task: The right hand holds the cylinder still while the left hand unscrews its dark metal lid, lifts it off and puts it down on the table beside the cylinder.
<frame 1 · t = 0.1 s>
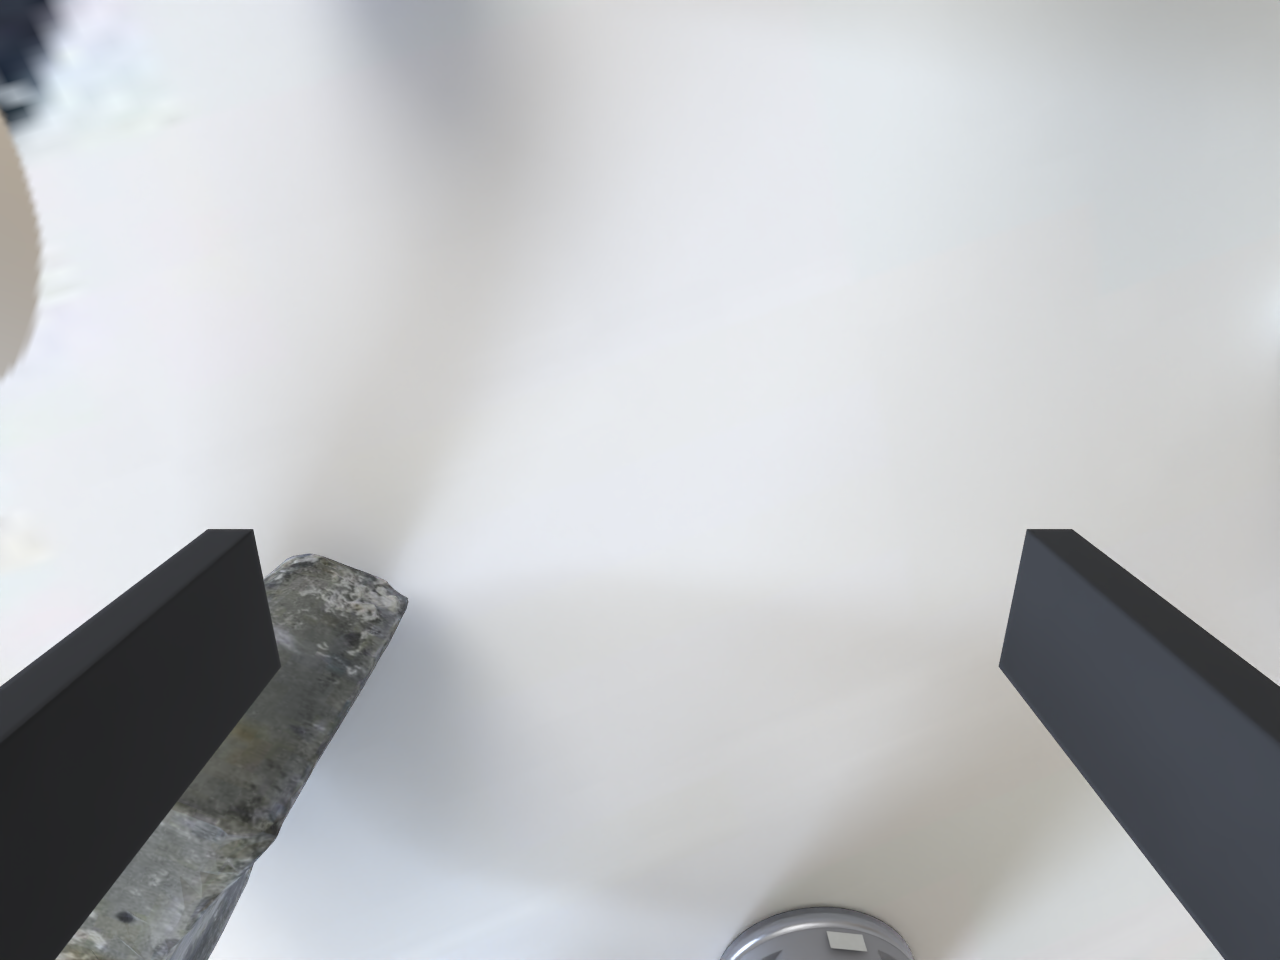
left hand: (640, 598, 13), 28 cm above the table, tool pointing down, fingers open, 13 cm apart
concrete block: (286, 695, 47), on the table
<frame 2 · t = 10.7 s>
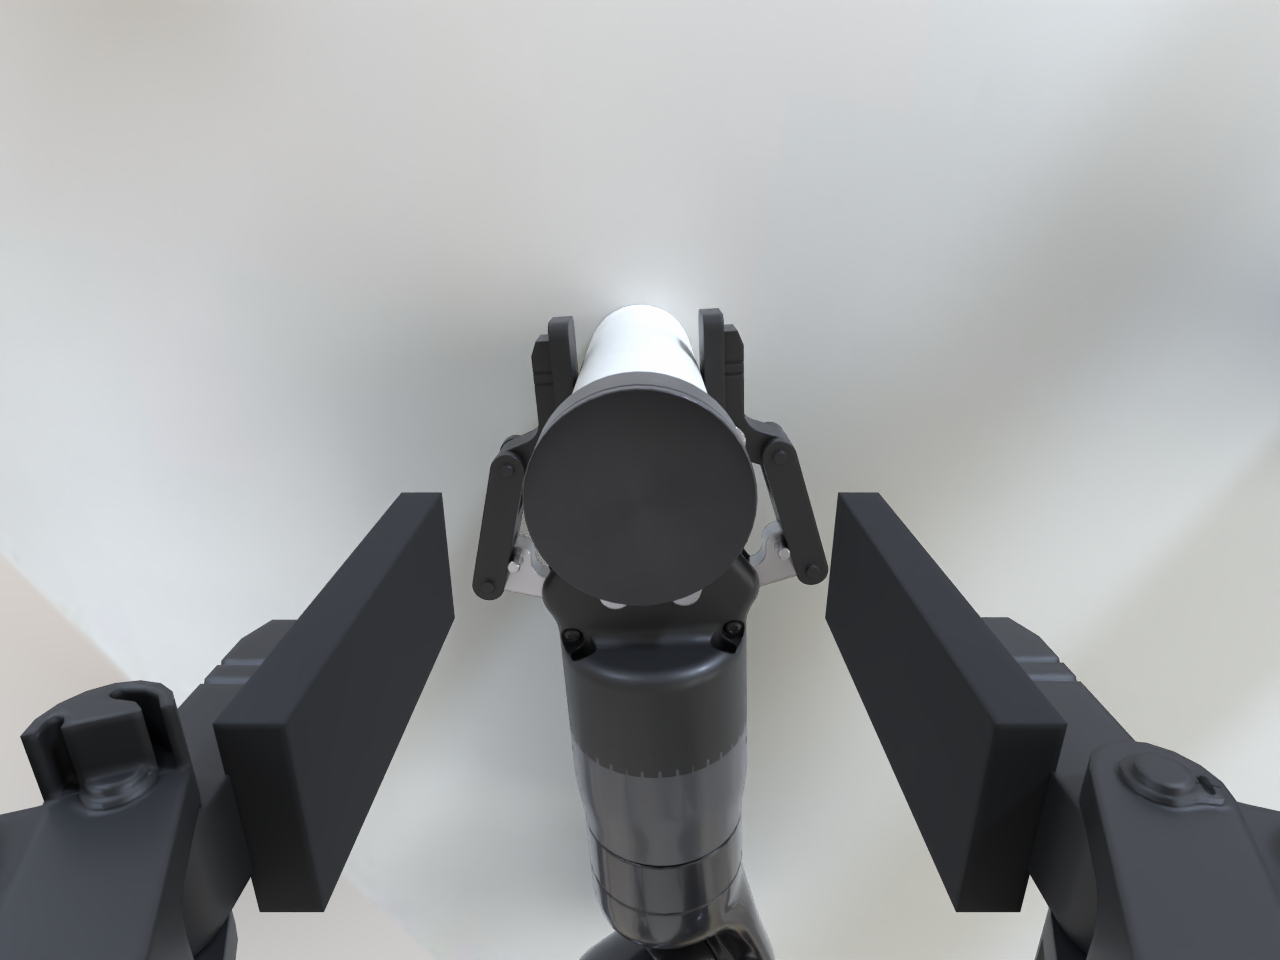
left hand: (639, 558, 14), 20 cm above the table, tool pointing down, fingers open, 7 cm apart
right hand: (634, 318, 25), fingers closed on cylinder, 4 cm apart
cylinder: (639, 356, 33), on the table, touching right hand
lid: (639, 497, 17), point 17 cm above the table, screwed on, not yet turned
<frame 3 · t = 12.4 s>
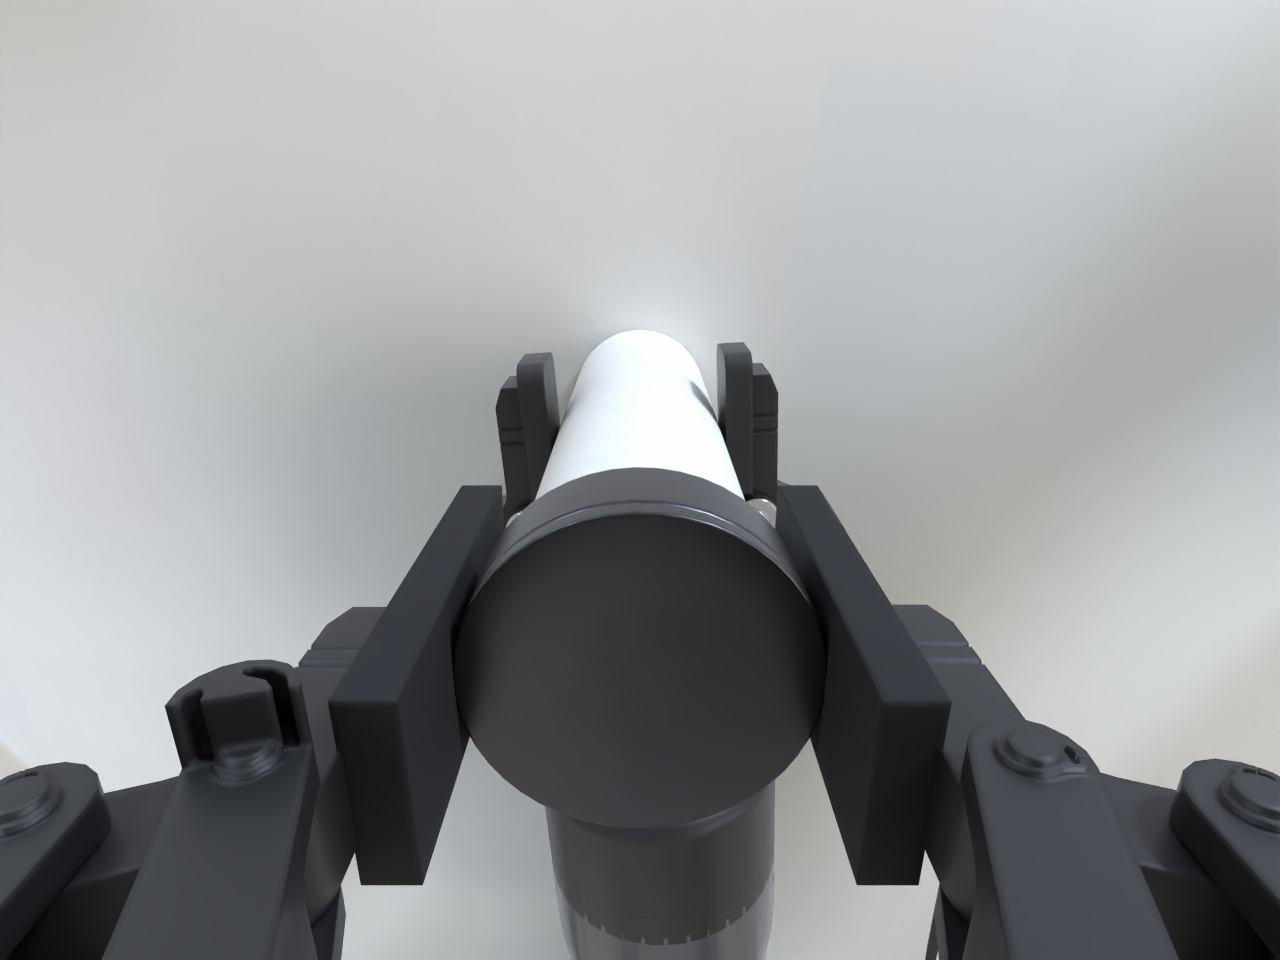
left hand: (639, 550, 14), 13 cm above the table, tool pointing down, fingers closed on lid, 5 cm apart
cylinder: (639, 393, 26), on the table, touching right hand
lid: (640, 670, 11), point 17 cm above the table, screwed on, not yet turned, touching left hand
when the left hand's fingers open (13 cm above the table, at t = 13.8 s): lid stays where it is, point 17 cm above the table.
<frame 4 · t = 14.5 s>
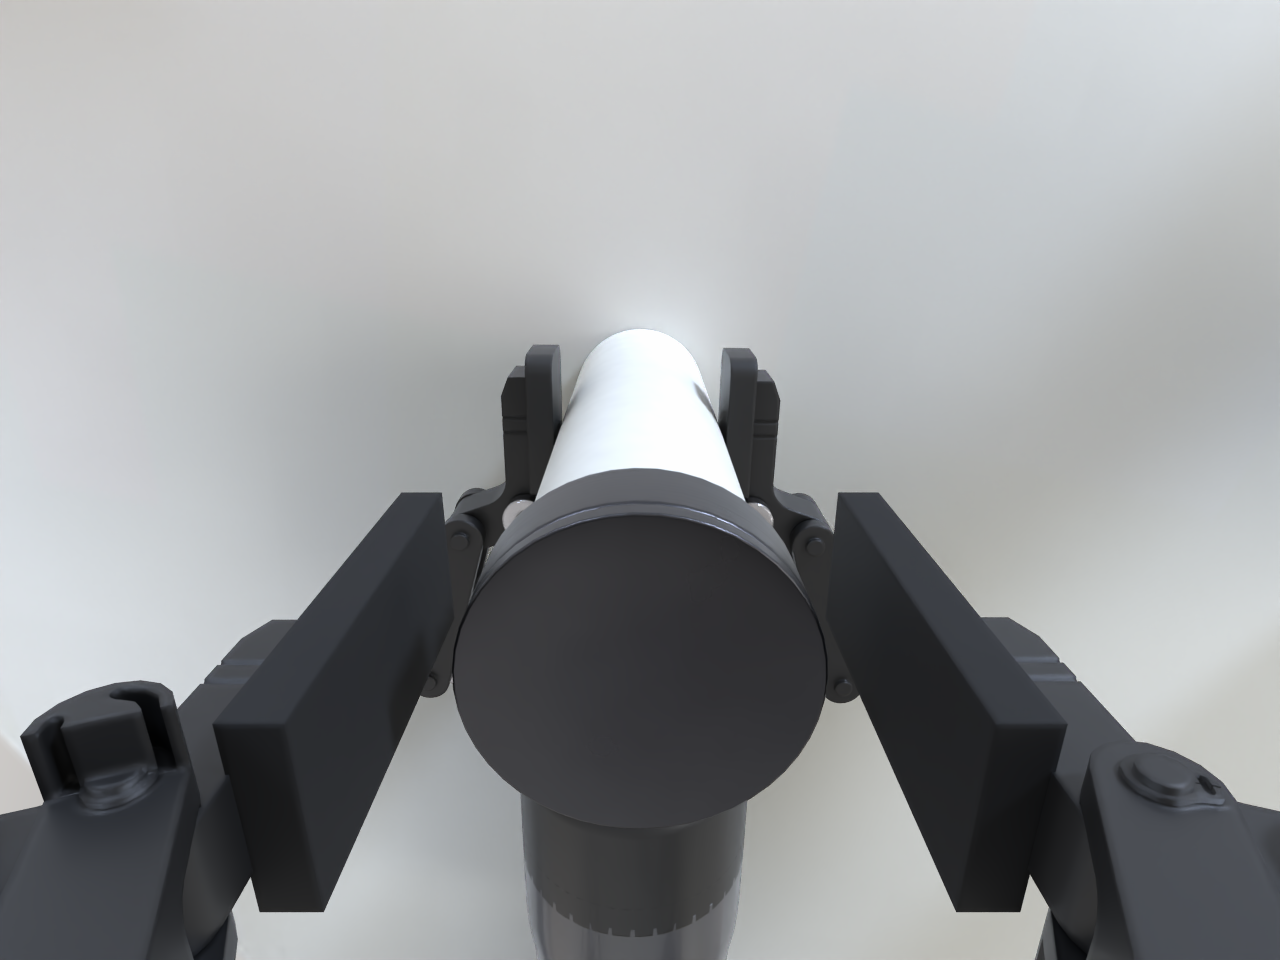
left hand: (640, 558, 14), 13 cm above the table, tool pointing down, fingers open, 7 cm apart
cylinder: (639, 391, 27), on the table, touching right hand
lid: (640, 671, 11), point 17 cm above the table, turned 87° so far, risen 0.3 cm, still on its thread
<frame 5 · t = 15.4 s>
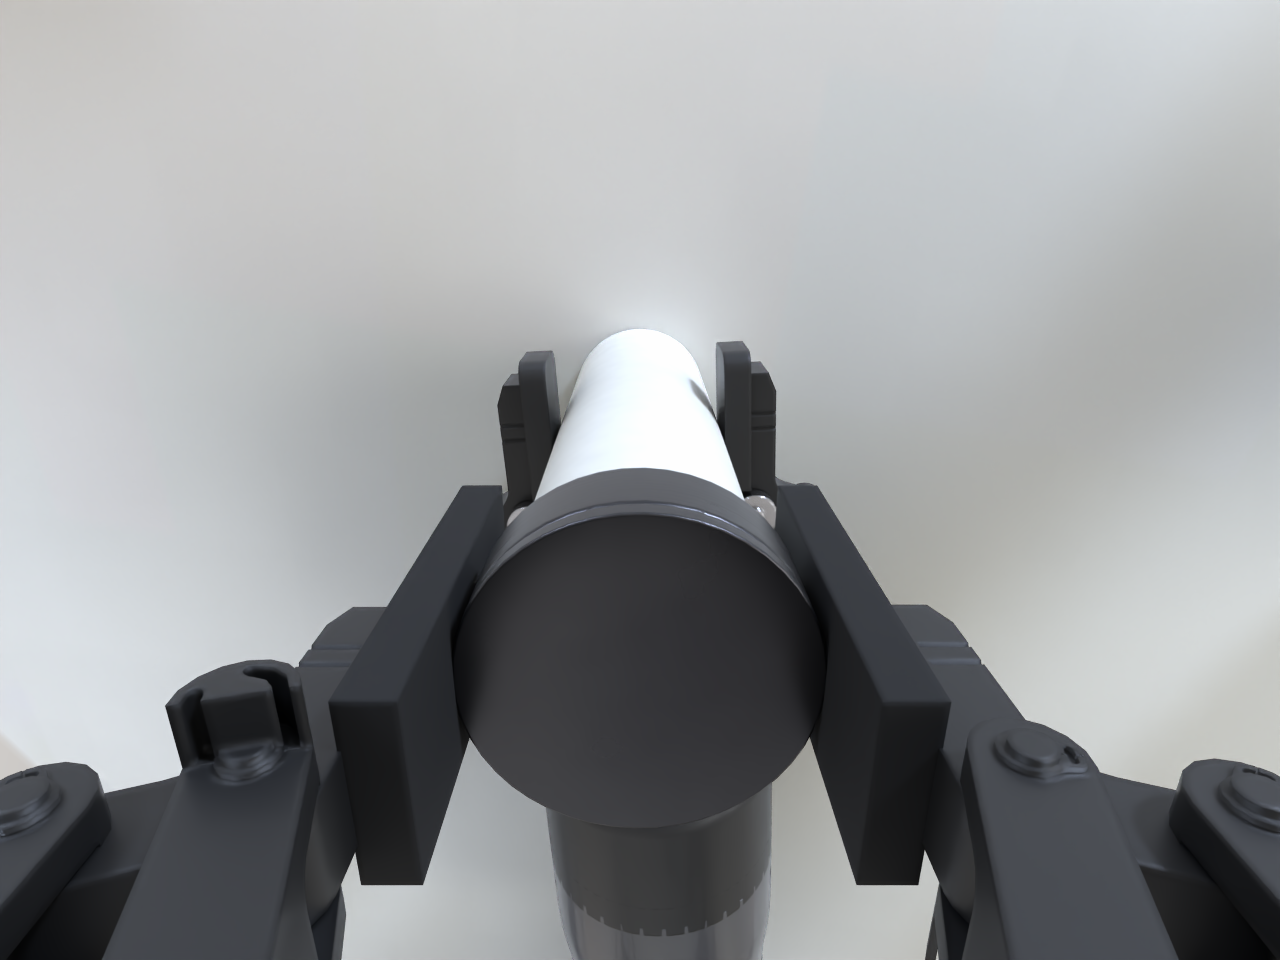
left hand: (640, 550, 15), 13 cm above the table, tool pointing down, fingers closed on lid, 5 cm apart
cylinder: (639, 391, 27), on the table, touching right hand
lid: (639, 670, 11), point 17 cm above the table, turned 87° so far, risen 0.3 cm, still on its thread, touching left hand
when the left hand's fingers open (0 cm above the table, at t = 21.6 s): lid drops 2 cm, point 1 cm above the table.
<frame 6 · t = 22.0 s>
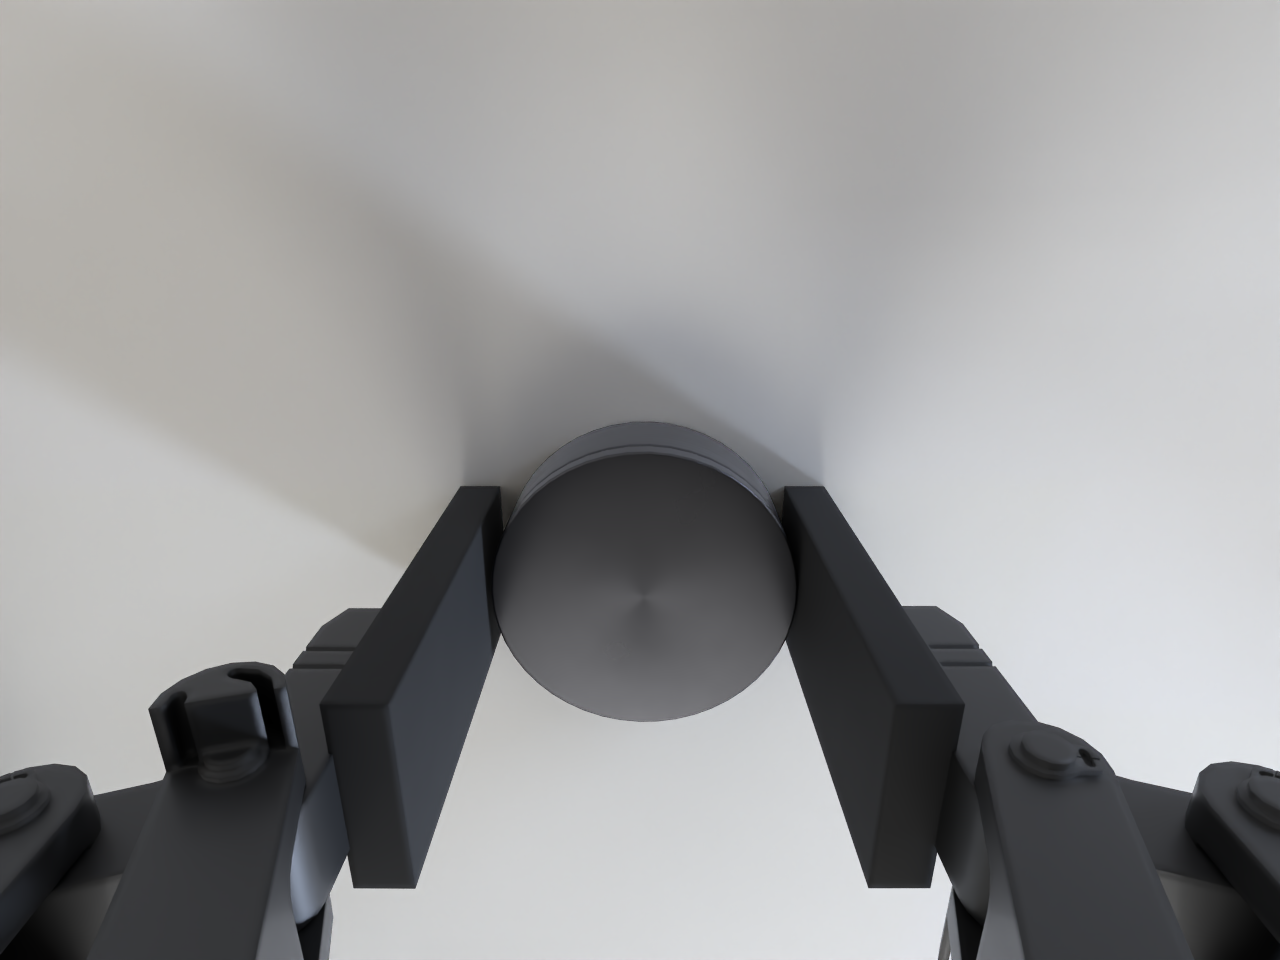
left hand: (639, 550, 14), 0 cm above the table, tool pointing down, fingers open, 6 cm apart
lid: (644, 587, 13), point 1 cm above the table, off its thread
when the right hand's fingers open (7 cm above the table, at t = 22.7 s): cylinder stays where it is, on the table.
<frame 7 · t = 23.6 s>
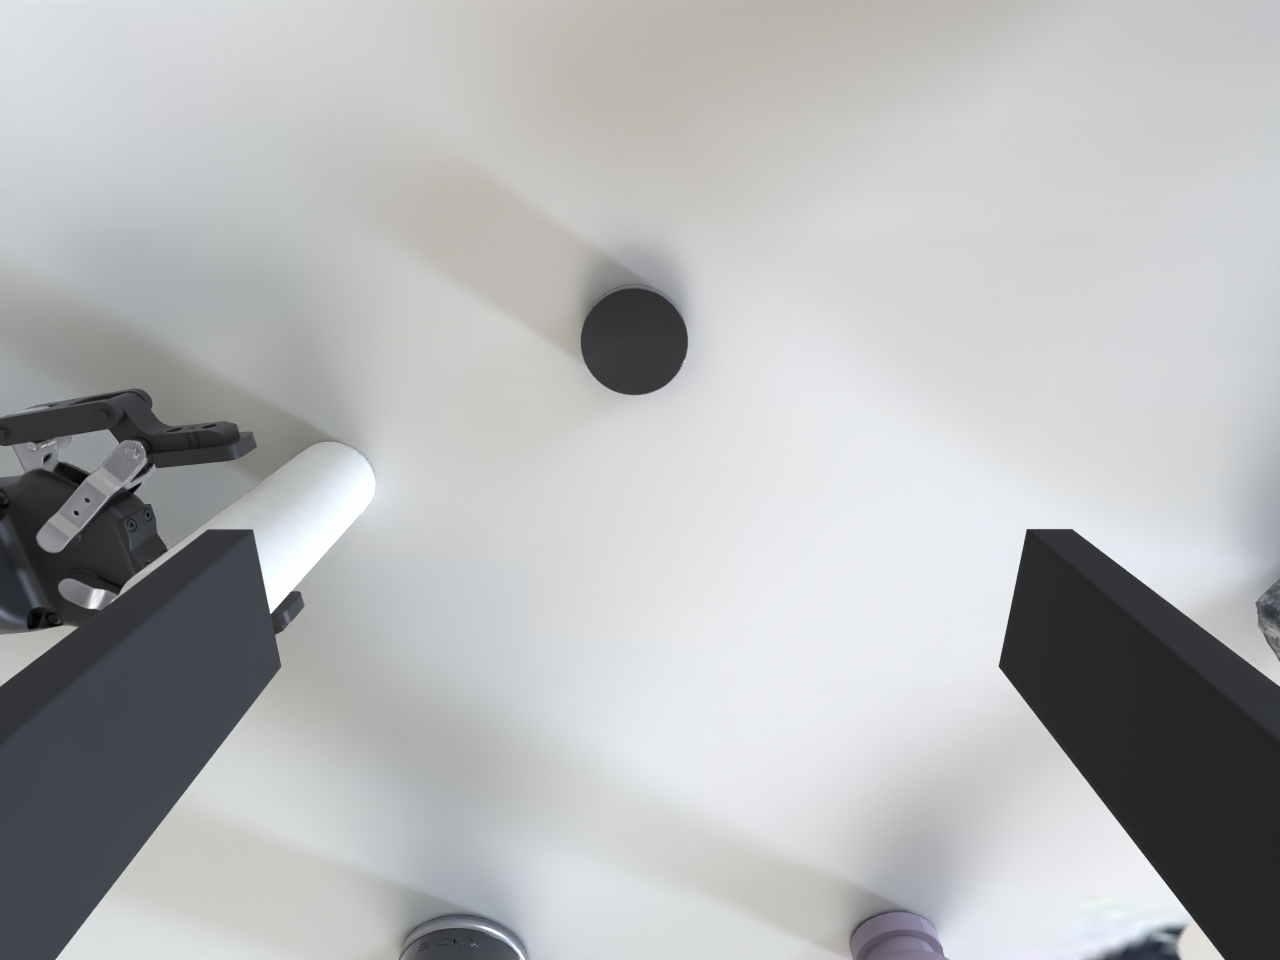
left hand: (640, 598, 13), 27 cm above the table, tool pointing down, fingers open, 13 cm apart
cylinder: (335, 479, 41), on the table
lid: (634, 341, 37), point 1 cm above the table, off its thread
cat figurine: (892, 941, 54), on the table
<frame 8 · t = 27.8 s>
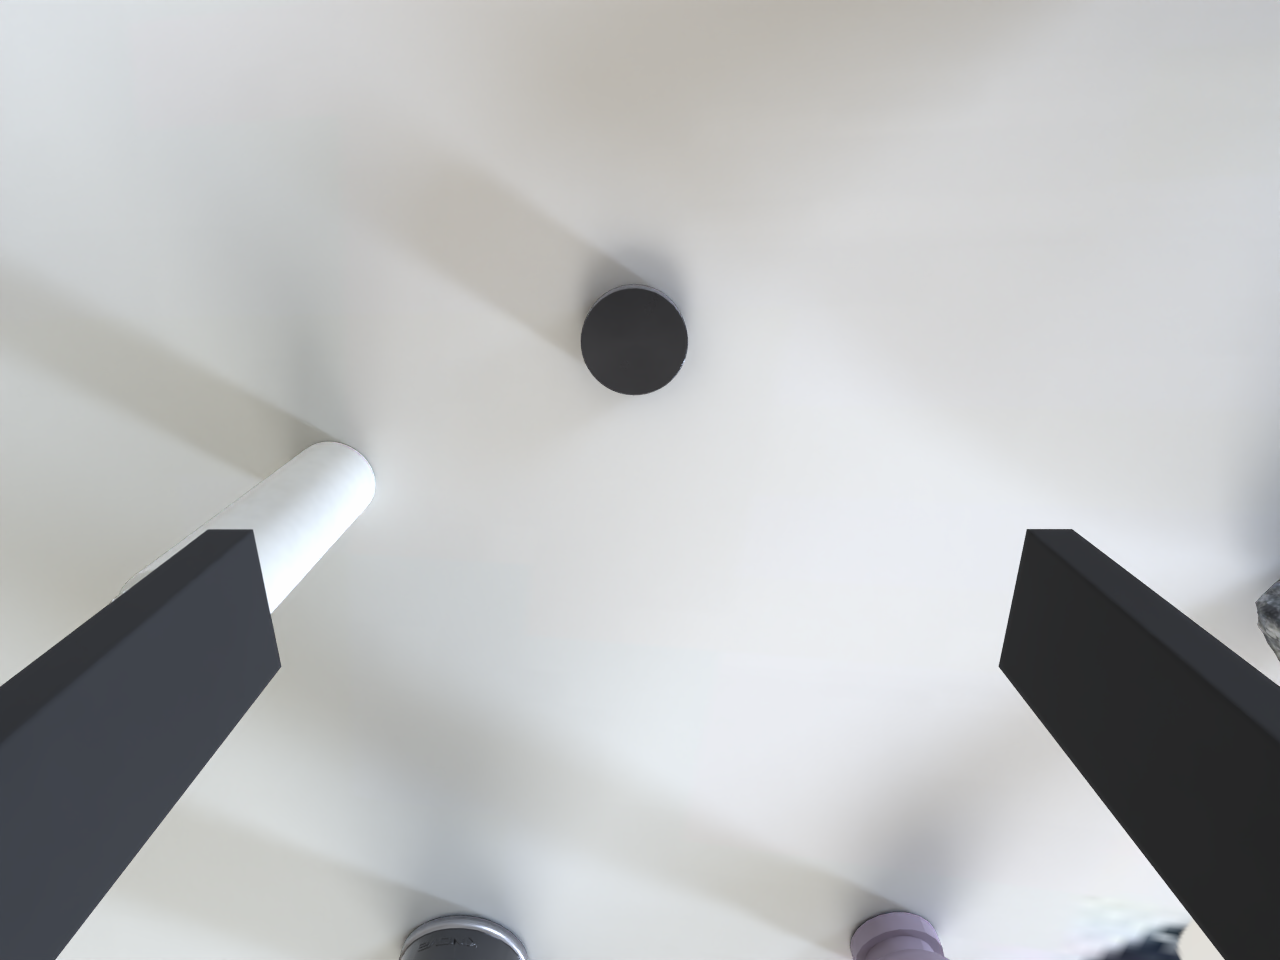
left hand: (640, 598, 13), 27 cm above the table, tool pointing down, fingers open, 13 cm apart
cylinder: (335, 479, 41), on the table
lid: (634, 341, 37), point 1 cm above the table, off its thread
cat figurine: (892, 941, 54), on the table
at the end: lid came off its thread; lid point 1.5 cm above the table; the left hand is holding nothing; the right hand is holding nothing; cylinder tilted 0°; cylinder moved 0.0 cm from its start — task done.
